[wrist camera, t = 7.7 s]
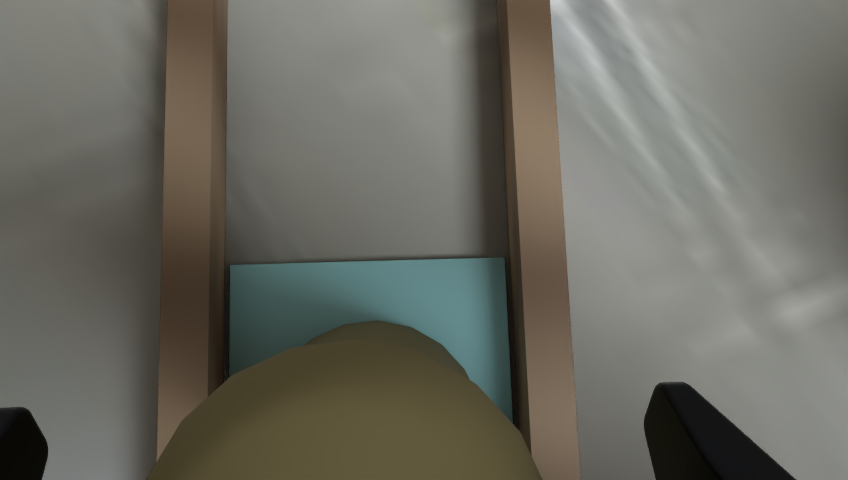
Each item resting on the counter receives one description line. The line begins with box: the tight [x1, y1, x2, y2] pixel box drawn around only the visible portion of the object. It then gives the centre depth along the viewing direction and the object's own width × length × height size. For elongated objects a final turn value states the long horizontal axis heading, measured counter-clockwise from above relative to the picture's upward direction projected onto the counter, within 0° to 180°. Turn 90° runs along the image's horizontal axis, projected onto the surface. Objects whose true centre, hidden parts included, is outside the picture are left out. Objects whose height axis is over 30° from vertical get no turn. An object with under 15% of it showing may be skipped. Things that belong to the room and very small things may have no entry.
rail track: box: [157, 0, 581, 480], centre depth 17 cm, size 20×10×2 cm, turn 2°
